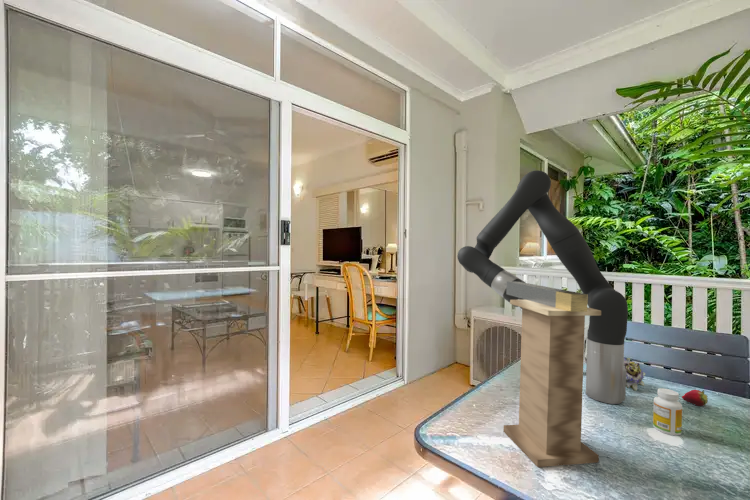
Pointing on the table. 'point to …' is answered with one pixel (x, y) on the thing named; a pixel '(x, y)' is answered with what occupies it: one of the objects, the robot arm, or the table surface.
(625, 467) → the table surface
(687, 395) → the fruit
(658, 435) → the table surface
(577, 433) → the walnut stand
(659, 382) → the table surface
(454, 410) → the table surface
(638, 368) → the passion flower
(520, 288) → the steel block
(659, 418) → the supplement bottle
